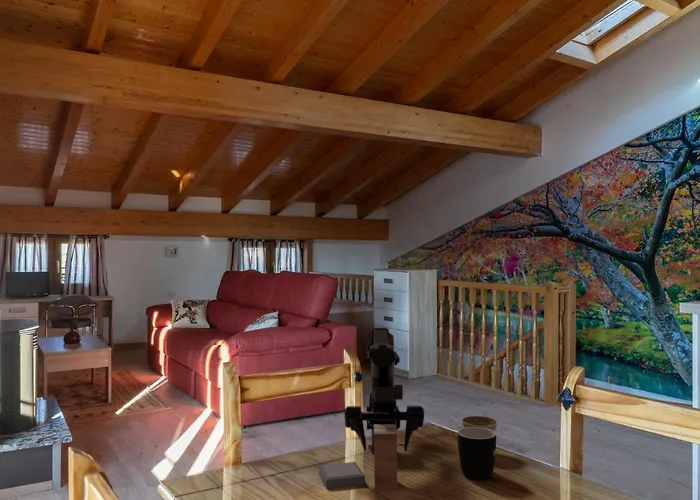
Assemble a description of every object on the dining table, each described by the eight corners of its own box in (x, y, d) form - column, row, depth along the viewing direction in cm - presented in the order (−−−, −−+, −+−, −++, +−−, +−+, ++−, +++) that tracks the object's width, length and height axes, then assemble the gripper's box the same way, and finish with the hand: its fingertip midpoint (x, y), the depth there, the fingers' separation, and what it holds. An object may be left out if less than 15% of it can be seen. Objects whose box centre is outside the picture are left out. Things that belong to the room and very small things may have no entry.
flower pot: (501, 450, 152) (501, 417, 152) (494, 462, 144) (494, 427, 144) (466, 445, 156) (466, 414, 156) (457, 456, 148) (457, 423, 148)
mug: (499, 483, 130) (499, 439, 130) (460, 482, 131) (459, 438, 131) (491, 464, 142) (490, 423, 142) (454, 463, 143) (454, 423, 143)
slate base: (318, 473, 137) (318, 464, 137) (355, 470, 139) (355, 461, 139) (326, 488, 128) (326, 479, 128) (364, 484, 130) (364, 474, 130)
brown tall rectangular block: (374, 480, 133) (373, 424, 133) (396, 480, 132) (395, 424, 133) (374, 489, 127) (374, 431, 128) (397, 489, 127) (397, 431, 128)
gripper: (344, 372, 136) (343, 433, 125) (422, 372, 136) (429, 432, 124) (345, 397, 144) (344, 457, 132) (419, 397, 143) (425, 456, 132)
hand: (385, 450), depth 130 cm, fingers open, 9 cm apart
